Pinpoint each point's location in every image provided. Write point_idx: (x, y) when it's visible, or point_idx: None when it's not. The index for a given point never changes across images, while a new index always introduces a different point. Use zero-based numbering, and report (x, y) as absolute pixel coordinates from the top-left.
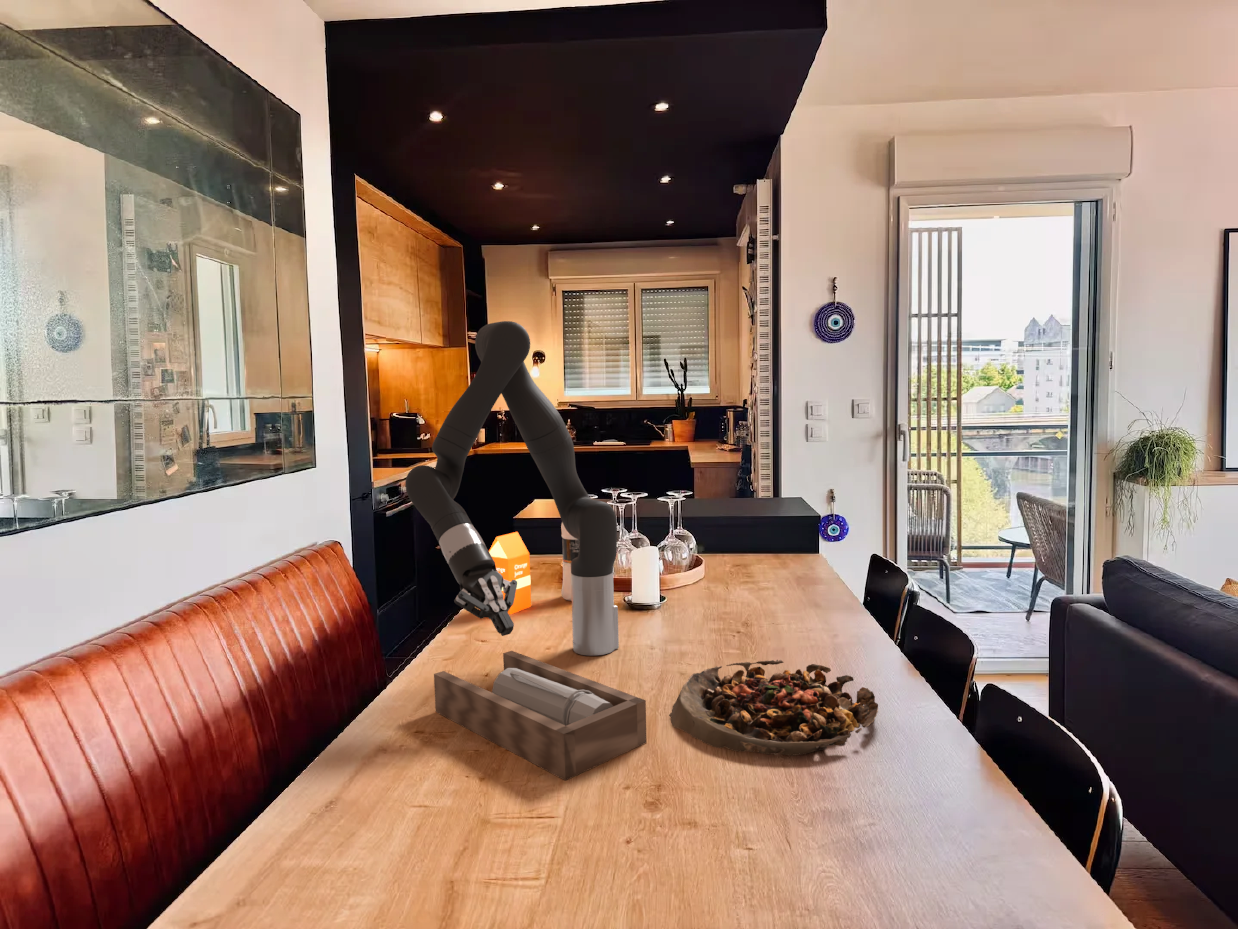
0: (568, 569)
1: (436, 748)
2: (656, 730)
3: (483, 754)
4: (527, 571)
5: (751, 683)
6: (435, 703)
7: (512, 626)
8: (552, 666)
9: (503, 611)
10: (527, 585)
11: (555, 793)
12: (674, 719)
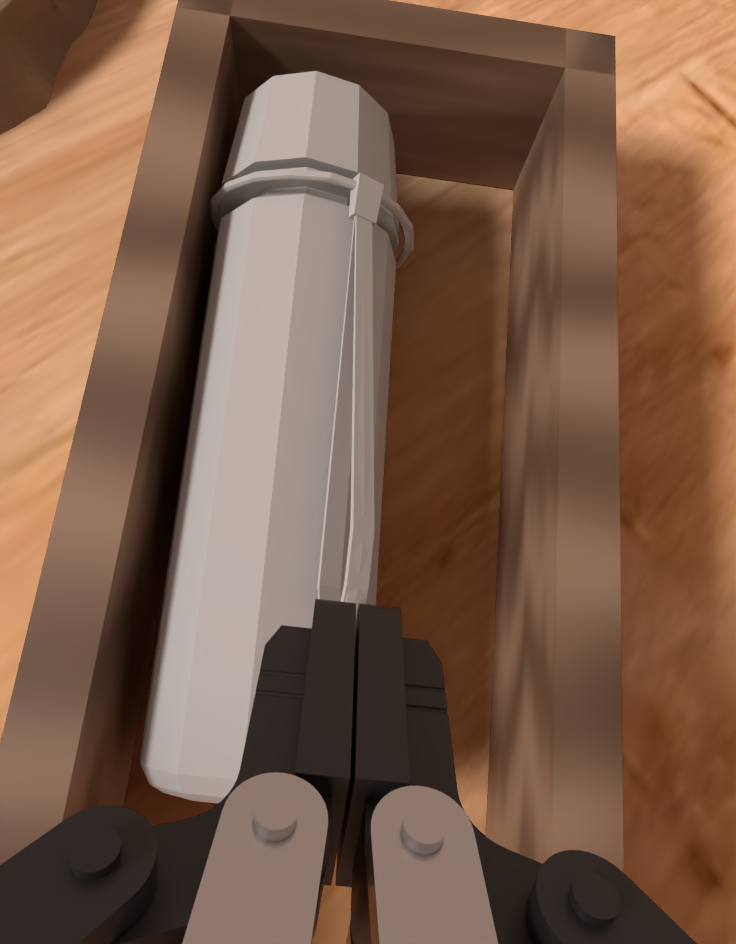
0: None
1: (725, 660)
2: (107, 131)
3: (626, 475)
4: None
5: None
6: None
7: (320, 603)
8: (52, 565)
9: (318, 771)
10: None
11: (618, 144)
12: (17, 97)
